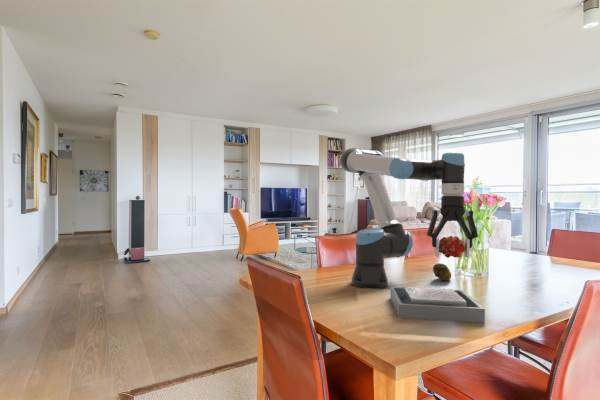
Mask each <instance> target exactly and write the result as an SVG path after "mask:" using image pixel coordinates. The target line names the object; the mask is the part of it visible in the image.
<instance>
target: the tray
mask: <svg viewBox="0 0 600 400" xmlns="http://www.w3.org/2000/svg"><path fill="white" fill-rule="evenodd" d="M453 290H454V291H455V292H456V293H457V294H459V295H460V296H461V297H462V298H463V299H464V300H465V301H466V307H458V306H439V305H419V304H405V303H404V301H403V292H404V286H402V287H399V286H390V296H389V297H390V300H391V301H390V302H392V305H393V307H394V310H395V313H396V315H397V317H398V319H410V320H427V321H428V320H429V321H443V322H444V321H445V322H460V323H461V322H464V323H477V324H478V323H479V324H481V323H484V324H485V318H486V317H485V316H486V314H485V311H486V309H485V307H483V306H482V305H481V304H479V302H477V301H476V300H475V299H473V298H472V297H471V296H469V295H468V293H466V292H465V291H464V290H462V289H453Z"/></svg>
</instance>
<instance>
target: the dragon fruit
mask: <svg viewBox="0 0 600 400" xmlns="http://www.w3.org/2000/svg"><path fill="white" fill-rule="evenodd" d="M464 245H465V240H464V241H463V239H461V238H459V237H458V236H457V235H456V236H452V235H450V236H447V237H446V236H443V237H442V238H440V239H439V254H440V253H441V254H442V255H443V256H444V257H445V258H447V259H449V258H450V257H453V258H461V257H462V254H463V253H464V250H466V248H464Z"/></svg>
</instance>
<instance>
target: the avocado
mask: <svg viewBox="0 0 600 400" xmlns="http://www.w3.org/2000/svg"><path fill="white" fill-rule="evenodd" d="M432 272H433V274H434V277H435V278H438V279H440V280H441V281H449V280H451V278H452V272H451V270H450V268H449V267H448V266H447V265H446V264H444V263H441V262H440V263H436V264H434V265H433V266H432Z"/></svg>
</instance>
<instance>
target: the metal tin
mask: <svg viewBox="0 0 600 400" xmlns="http://www.w3.org/2000/svg"><path fill="white" fill-rule="evenodd" d="M403 288H404V292H403V301H404V303H405V304H419V305H439V306H458V307H466V301H465V300H464V299H463V298H462V297H461V296H460V295H459V294H457V293H456V292H455V291H454V290H455V289H453V288H439V287H438V288H437V287H416V286H415V287H413V286H403Z"/></svg>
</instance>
